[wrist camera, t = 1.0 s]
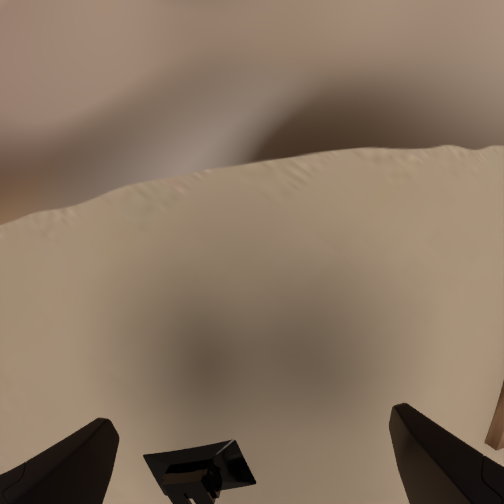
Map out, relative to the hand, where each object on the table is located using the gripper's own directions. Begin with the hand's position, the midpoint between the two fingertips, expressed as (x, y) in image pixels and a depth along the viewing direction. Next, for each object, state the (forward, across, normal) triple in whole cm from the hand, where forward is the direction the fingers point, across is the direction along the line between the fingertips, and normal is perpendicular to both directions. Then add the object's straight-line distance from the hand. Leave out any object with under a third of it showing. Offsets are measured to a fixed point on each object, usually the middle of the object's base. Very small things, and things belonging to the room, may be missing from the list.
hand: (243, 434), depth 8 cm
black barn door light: (+11, +8, +17) cm, 22 cm away
